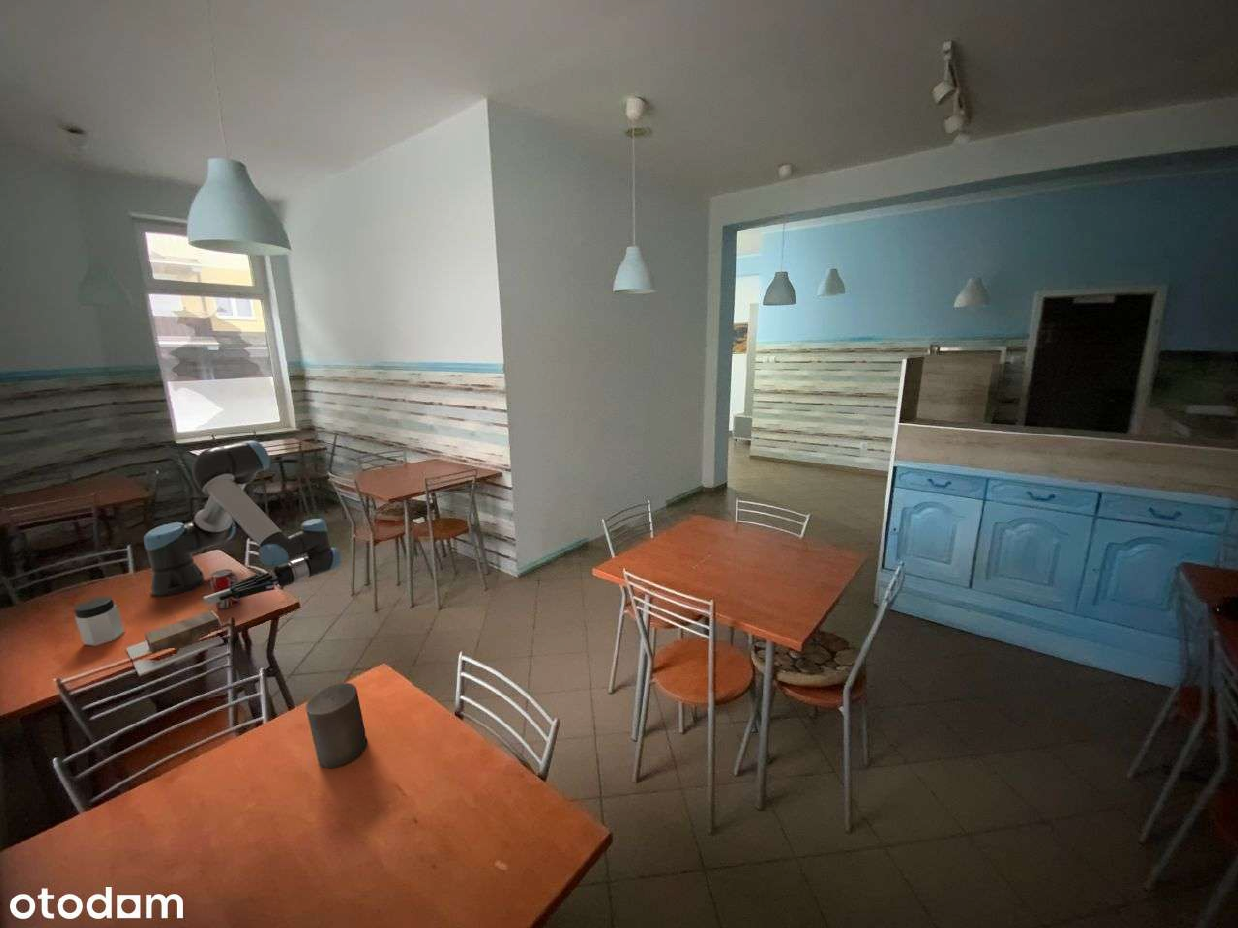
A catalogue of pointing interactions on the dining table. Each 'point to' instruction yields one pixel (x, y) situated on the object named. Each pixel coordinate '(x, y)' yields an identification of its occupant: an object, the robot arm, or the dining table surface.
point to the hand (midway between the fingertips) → (205, 601)
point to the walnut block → (183, 632)
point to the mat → (183, 653)
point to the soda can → (224, 586)
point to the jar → (98, 621)
